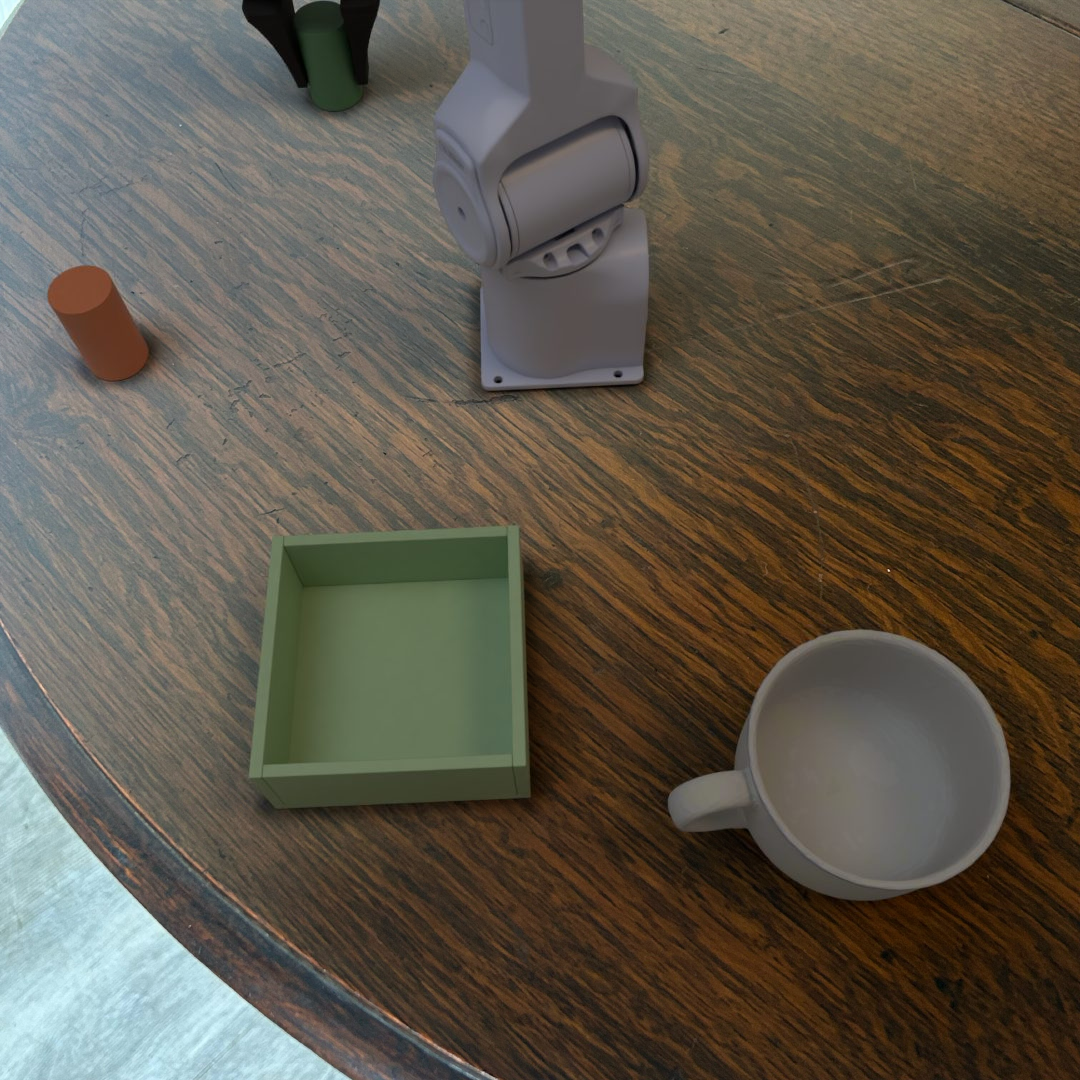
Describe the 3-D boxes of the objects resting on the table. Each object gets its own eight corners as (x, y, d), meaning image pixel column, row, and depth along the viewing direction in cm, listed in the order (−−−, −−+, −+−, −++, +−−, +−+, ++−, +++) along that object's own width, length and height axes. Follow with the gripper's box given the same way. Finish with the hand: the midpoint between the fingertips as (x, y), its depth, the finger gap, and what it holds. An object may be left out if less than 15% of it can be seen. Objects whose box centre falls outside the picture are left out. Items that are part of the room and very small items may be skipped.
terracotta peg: (152, 332, 66) (116, 263, 61) (144, 379, 65) (106, 312, 59) (94, 335, 66) (53, 266, 61) (84, 382, 65) (41, 315, 59)
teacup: (928, 690, 54) (980, 622, 47) (979, 918, 48) (1047, 880, 41) (647, 702, 54) (657, 636, 47) (667, 931, 48) (682, 895, 41)
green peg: (363, 76, 78) (348, -2, 72) (361, 110, 76) (345, 33, 71) (313, 78, 78) (294, 1, 72) (310, 112, 76) (290, 35, 71)
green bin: (523, 571, 57) (519, 524, 53) (530, 798, 51) (526, 765, 47) (294, 582, 58) (271, 535, 53) (275, 809, 52) (247, 778, 47)
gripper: (413, -166, 65) (438, 34, 77) (175, -154, 66) (236, 44, 77) (410, -99, 62) (437, 101, 74) (159, -86, 62) (225, 111, 74)
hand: (334, 77), depth 75 cm, fingers closed on green peg, 3 cm apart
